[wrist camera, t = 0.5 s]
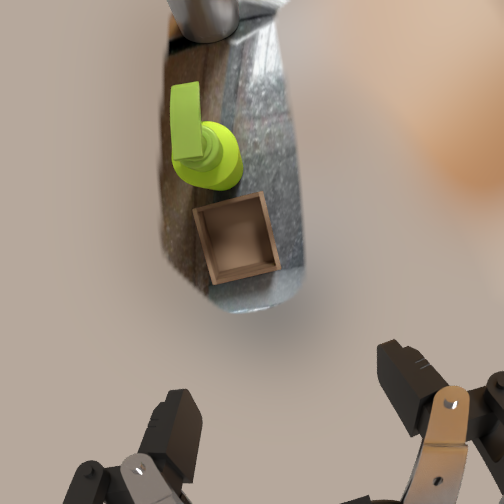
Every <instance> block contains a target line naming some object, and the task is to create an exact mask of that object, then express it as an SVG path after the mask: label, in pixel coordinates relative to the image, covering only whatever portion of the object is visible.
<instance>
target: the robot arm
mask: <svg viewBox="0 0 504 504" xmlns="http://www.w3.org/2000/svg"><path fill="white" fill-rule="evenodd" d="M167 2H168V4H169V6H170V9H171V11H172V13H173V15H174V17H175V20H176V22H177V24H178V26H179V29H180V31H181V33H182V34H183V36H184V37H185V38H187V39H188V40H190V41H193V42H197V43H211V42H216V41H219V40H222V39H224V38H226V37H228V36H229V35H231V34H232V33H233V32H234V31H235V30H236V28H237V27H238V25H239V4H238V0H167ZM377 375H378V380H379V383H380V385H381V387H382V388H383V390H384V391H385V393H386V395H387V397H388V399H389V400H390V402H391V404H392V405H393V407H394V409H395V410H396V412H397V414H398V416H399V417H400V419H401V421H402V422H403V424H404V426H405V428H406V429H407V431H408V433H409V435H410V437H413V436H415V435H418V434H420V435H421V437H422V438H423V439H422V442H421V446H420V449H419V452H418V455H417V458H416V461H415V464H414V468H413V470H412V473H411V476H410V479H409V481H408V484H407V486H406V488H405V491H404V493H403V495H402V498H401V500H400V501H395V500H372V501H371V500H370V497H369V495H367V496H364V497H361V498H358V499H355V500H351V501H348V502H344V503H341V504H456V501H457V498H458V494H459V490H460V486H461V482H462V478H463V474H464V469H465V464H466V459H467V453H468V445H465V442H467V441H470V440H472V441H473V443H474V445H475V446H476V448H477V450H478V451H479V453H480V455H481V456H482V458H483V460H484V461H485V463H486V465H487V467H488V469H489V471H490V472H491V474H492V476H493V478H494V480H495V482H496V484H497V485H498V487H499V489H500V491H501V493H502V495H503V496H502V498H501V500H500V502H499V504H504V371H500V372H497V373H494V374H493V375H491V377H490V378H489V380H488V382H487V385H486V386H484V387H480V388H477V389H473V390H469V391H466V390H465V389H464V388H462V387H459V386H449V385H448V383H447V382H446V381H445V380H444V379H443V378H442V377H441V375H440V374H439V373H438V372H437V371H436V370H435V369H434V368H433V366H432V365H430V363H429V362H428V361H427V360H426V359H425V358H424V357H423V355H422V354H421V353H420V352H419V351H418V350H416V349H414V348H411V347H409V346H407V347H404V348H402V346H401V345H400V344H399V343H398V342H397V341H396V340H395V339H393V340H390V341H388V342H385V343H382V344H380V345H378V346H377ZM201 430H202V416H201V413H200V411H199V409H198V407H197V405H196V403H195V402H194V400H193V398H192V396H191V394H190V392H189V391H188V390H187V389H179V390H170V391H169V392H168V394H167V397H166V400H165V402H160V404H159V405H158V406H157V407H156V408H155V409H154V410H153V413H152V416H151V418H150V421H149V424H148V428H147V429H146V431H145V434H144V437H143V440H142V442H141V445H140V448H139V450H138V453H137V454H133V455H130V456H129V457H127V458H126V459H125V460H124V461H123V463H122V464H121V466H115V467H109V468H104V467H103V466H102V465H101V464H100V463H99V462H97V461H93V460H91V461H86V462H84V463H82V464H81V465H80V466H79V467H78V468H77V470H76V472H75V475H74V477H73V480H72V482H71V484H70V487H69V489H68V491H67V494H66V496H65V499H64V502H63V504H103V502H104V503H106V504H192V502H191V501H190V500H189V499H188V497H187V496H186V494H185V493H184V492H183V491H182V490H181V489H182V484H183V483H193V477H194V471H195V465H196V459H197V454H198V448H199V441H200V436H201Z"/></svg>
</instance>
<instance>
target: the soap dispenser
mask: <svg viewBox="0 0 504 504" xmlns="http://www.w3.org/2000/svg"><path fill="white" fill-rule="evenodd" d="M170 127H171V142H172V164H173V167H174V169H175V171H176V173H177V174H178V176H179V177H180V178H181V179H182V180H183V181H185V182H186V183H188V184H190V185H193V186H197V187H202V188H207V189H212V190H217V191H224V190H228V189H230V188H232V187H234V186H235V185H236V184H237V183H238V182H239V181H240V179H241V177H242V174H243V163H242V159H241V155H240V151H239V147H238V144H237V141H236V139H235V137H234V135H233V134H232V133H231V131H230V130H229V129H227V128H226V127H225V126H223V125H221V124H219V123H215V122H209V121H205V122H201V111H200V87H199V82H198V81H197V82H190V83H185V84H179V85H174V86H172V87H171V96H170Z"/></svg>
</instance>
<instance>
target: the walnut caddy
mask: <svg viewBox="0 0 504 504" xmlns="http://www.w3.org/2000/svg"><path fill="white" fill-rule="evenodd" d="M192 211H193V215H194V219H195V223H196V226H197V230H198V234H199V238H200V241H201V245H202V248H203V252H204V256H205V259H206V263H207V266H208V270H209V273H210V276H211V280H212V283H213V285H216V284H221V283H225V282H229V281H234V280H238V279H242V278H246V277H251V276H255V275H259V274H263V273H267V272H271V271H276V270H280V269H281V266H280V261H279V257H278V253H277V248H276V244H275V240H274V236H273V231H272V227H271V223H270V219H269V215H268V211H267V207H266V202H265V198H264V194H263V191H260V192H256V193H252V194H248V195H244V196H240V197H236V198H232V199H228V200H224V201H220V202H217V203H213V204H209V205H206V206H202V207H198V208H195V209H192Z"/></svg>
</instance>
